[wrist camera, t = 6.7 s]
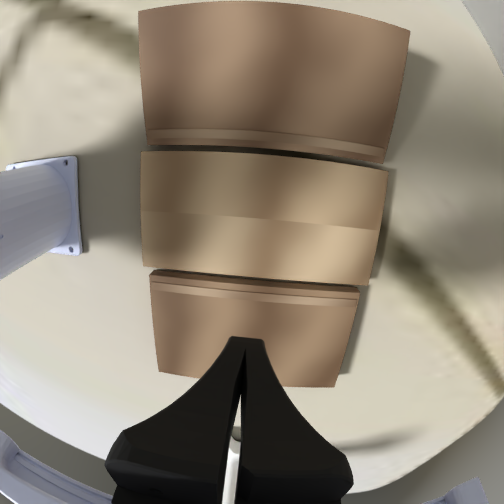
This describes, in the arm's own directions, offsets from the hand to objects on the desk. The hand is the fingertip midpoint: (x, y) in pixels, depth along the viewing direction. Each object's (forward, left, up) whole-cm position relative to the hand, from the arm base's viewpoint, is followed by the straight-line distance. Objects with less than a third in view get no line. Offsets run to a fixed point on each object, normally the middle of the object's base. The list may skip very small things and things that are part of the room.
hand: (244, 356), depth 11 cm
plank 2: (0, -5, -9) cm, 10 cm away
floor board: (0, +4, -9) cm, 10 cm away
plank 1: (0, +13, -7) cm, 15 cm away
